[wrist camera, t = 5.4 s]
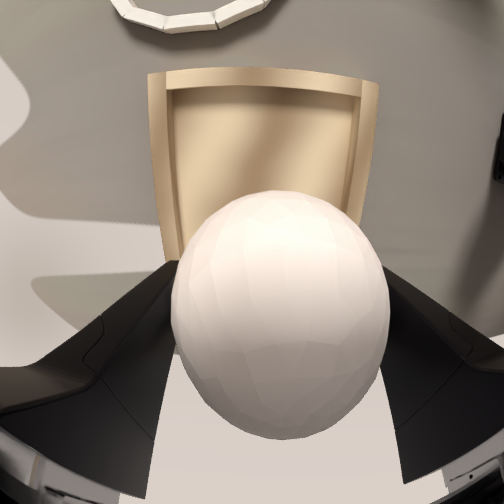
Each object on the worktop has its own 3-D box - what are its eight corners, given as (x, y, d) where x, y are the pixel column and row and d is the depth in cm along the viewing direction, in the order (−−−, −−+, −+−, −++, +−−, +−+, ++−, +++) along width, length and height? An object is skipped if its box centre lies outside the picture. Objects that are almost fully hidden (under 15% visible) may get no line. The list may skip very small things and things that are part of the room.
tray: (364, 84, 13) (379, 83, 11) (335, 275, 20) (341, 292, 19) (159, 76, 13) (147, 74, 11) (177, 274, 20) (171, 292, 18)
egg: (371, 200, 10) (489, 357, 3) (304, 309, 13) (331, 463, 7) (222, 139, 9) (146, 285, 2) (179, 274, 12) (134, 444, 5)
